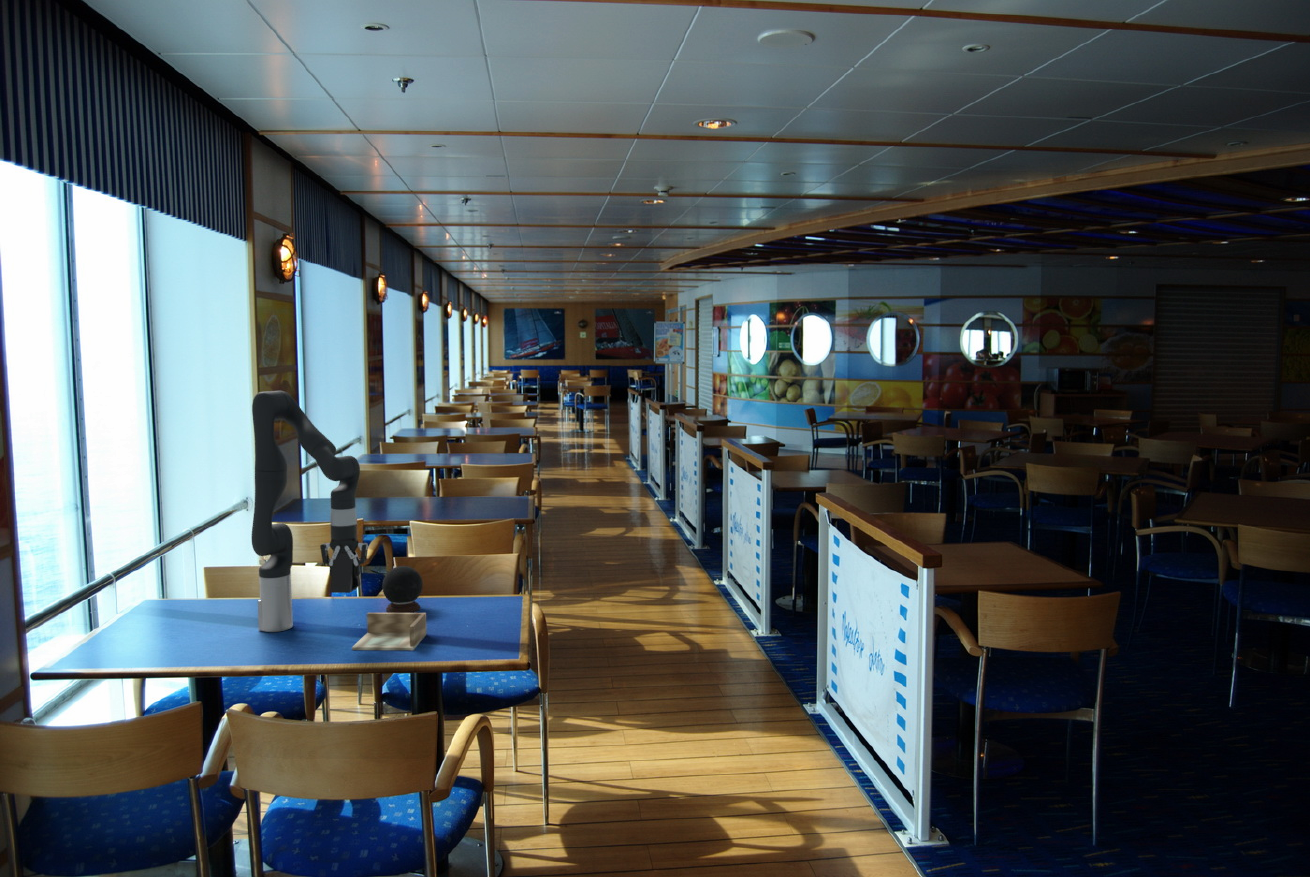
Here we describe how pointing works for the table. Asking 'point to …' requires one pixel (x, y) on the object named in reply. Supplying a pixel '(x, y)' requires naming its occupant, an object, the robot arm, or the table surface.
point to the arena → (393, 631)
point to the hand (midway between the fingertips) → (345, 577)
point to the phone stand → (343, 574)
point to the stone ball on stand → (402, 589)
